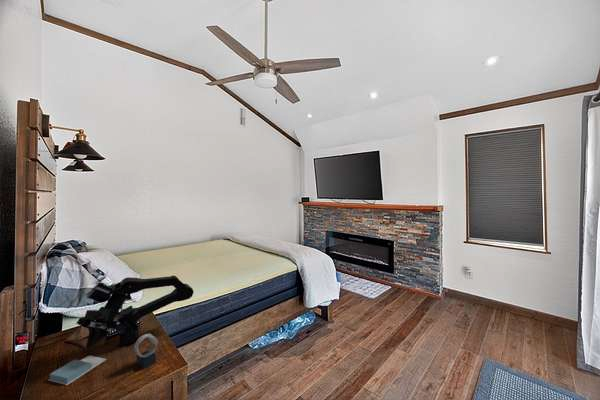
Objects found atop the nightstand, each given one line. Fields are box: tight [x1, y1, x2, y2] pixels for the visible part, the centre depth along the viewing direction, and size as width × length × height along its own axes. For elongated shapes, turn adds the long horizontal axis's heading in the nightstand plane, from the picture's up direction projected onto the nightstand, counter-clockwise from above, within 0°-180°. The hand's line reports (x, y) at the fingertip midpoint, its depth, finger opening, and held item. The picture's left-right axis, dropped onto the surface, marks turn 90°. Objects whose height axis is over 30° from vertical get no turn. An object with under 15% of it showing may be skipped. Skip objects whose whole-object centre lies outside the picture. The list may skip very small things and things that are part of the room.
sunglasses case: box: [63, 326, 109, 350], centre depth 116 cm, size 18×7×7 cm, turn 69°
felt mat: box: [48, 355, 107, 386], centre depth 97 cm, size 14×9×1 cm, turn 166°
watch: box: [133, 333, 159, 370], centre depth 101 cm, size 6×8×11 cm
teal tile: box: [49, 359, 92, 385], centre depth 94 cm, size 2×8×8 cm
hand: (87, 348), depth 99 cm, fingers closed
